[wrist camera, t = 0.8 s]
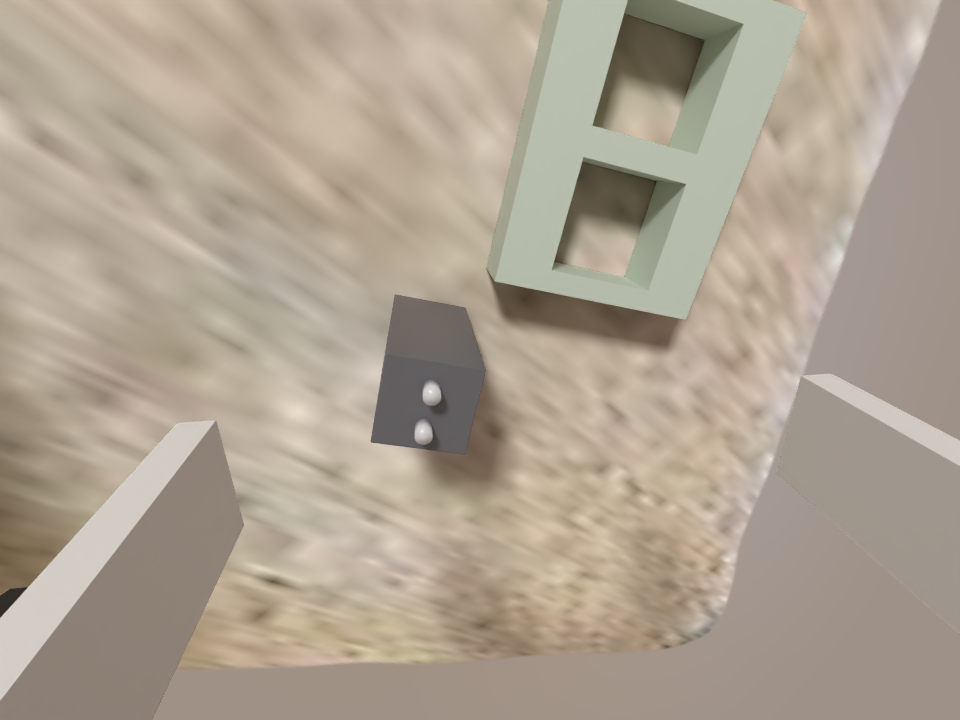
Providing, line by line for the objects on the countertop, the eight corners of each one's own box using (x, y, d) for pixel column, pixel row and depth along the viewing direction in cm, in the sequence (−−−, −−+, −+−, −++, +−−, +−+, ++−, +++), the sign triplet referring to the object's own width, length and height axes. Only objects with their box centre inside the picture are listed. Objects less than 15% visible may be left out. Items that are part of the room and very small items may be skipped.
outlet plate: (486, 268, 30) (494, 281, 27) (558, -40, 25) (579, -70, 21) (659, 303, 33) (685, 319, 29) (760, 30, 27) (807, 12, 24)
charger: (383, 360, 32) (368, 454, 22) (394, 294, 30) (384, 362, 20) (451, 371, 33) (466, 466, 23) (465, 307, 31) (489, 379, 21)
